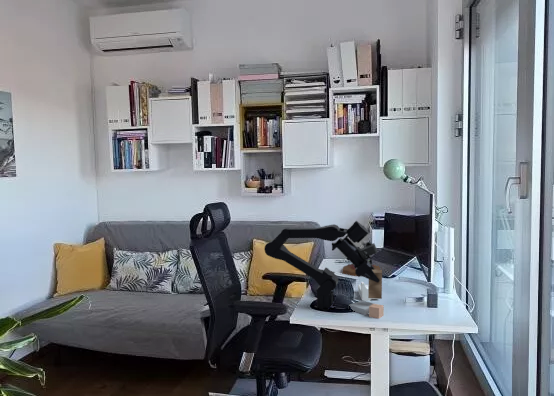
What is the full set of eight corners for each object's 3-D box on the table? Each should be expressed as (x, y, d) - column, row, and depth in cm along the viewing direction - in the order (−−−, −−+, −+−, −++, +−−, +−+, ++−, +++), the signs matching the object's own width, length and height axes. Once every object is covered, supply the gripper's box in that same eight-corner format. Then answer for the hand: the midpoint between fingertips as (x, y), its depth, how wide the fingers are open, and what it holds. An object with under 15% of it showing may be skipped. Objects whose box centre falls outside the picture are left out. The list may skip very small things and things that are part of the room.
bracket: (379, 301, 195) (379, 283, 194) (362, 301, 195) (361, 283, 194) (374, 292, 208) (374, 275, 207) (358, 292, 208) (358, 275, 207)
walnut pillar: (368, 298, 180) (368, 272, 180) (368, 294, 185) (368, 269, 184) (381, 298, 179) (382, 273, 178) (381, 295, 184) (381, 269, 183)
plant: (337, 275, 240) (337, 253, 239) (347, 267, 258) (347, 246, 257) (376, 278, 232) (376, 256, 231) (384, 269, 249) (384, 248, 249)
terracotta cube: (379, 318, 173) (378, 308, 173) (369, 316, 175) (368, 306, 175) (383, 315, 176) (383, 305, 176) (373, 313, 178) (373, 303, 178)
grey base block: (365, 315, 178) (364, 309, 177) (349, 311, 184) (349, 304, 184) (378, 311, 183) (378, 304, 182) (362, 306, 189) (362, 300, 189)
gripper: (364, 240, 172) (395, 271, 171) (365, 232, 190) (393, 260, 189) (342, 261, 174) (372, 292, 173) (345, 251, 192) (373, 279, 191)
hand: (378, 279), depth 181 cm, fingers closed on walnut pillar, 5 cm apart
